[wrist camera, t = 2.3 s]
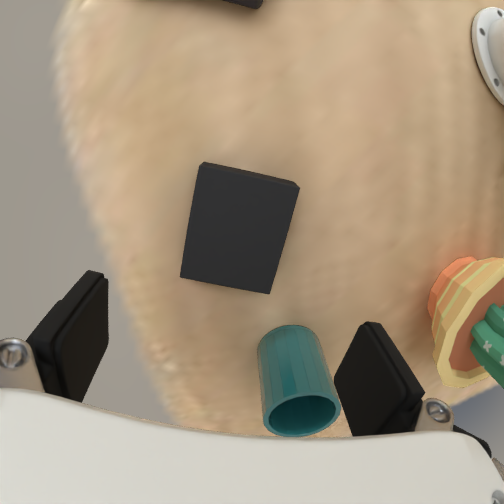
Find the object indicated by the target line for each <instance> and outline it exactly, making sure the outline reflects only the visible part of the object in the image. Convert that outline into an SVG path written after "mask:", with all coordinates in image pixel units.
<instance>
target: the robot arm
mask: <svg viewBox="0 0 504 504" xmlns="http://www.w3.org/2000/svg"><path fill="white" fill-rule="evenodd" d="M472 42H473V48H474V53H475V56H476V60H477V63H478V66H479V68H480V71H481V73H482V75H483V77H484V79H485V82H486V84H487V85H488V87H489V88H490V90H491V92H492V93H493V95H494V96H495V97H496V98H497V100H498V101H499V102H500V103H501V104H502V105H503V106H504V10H502V9H499V8H496V7H488V8H485V9H482V10H481V11H479V12H478V13H477V14H476V16H475V18H474V21H473V24H472ZM108 336H109V334H108V279H106V278H104V274H103V273H99V272H95V271H90V270H88V271H87V272H86V273H85V274H84V275H83V276H82V277H81V278H80V279H79V281H78V282H77V283H76V284H75V285H74V286H73V287H72V289H71V290H70V291H69V292H68V293H67V294H66V295H65V297H64V298H63V299H62V300H59V301H58V302H57V303H56V304H55V305H54V307H53V308H52V309H51V310H50V311H49V312H48V314H47V315H46V316H45V317H44V318H43V320H42V321H41V322H40V323H39V325H38V326H37V327H36V328H35V330H34V331H33V332H32V333H31V335H30V336H29V337H28V338H27V340H26V341H24V340H22V339H18V338H6V339H3V340H0V504H504V465H503V464H502V463H500V462H499V461H498V460H497V459H496V458H493V459H492V460H491V450H490V448H489V446H488V444H487V443H486V442H485V441H484V440H481V439H479V438H478V437H476V436H474V435H472V434H470V433H468V432H466V431H464V430H463V429H461V428H459V427H457V426H455V425H453V424H454V414H453V412H452V410H451V408H450V407H449V406H448V405H447V404H446V403H444V402H443V401H441V400H439V399H436V398H428V399H426V400H424V402H423V401H422V399H421V398H422V397H423V395H424V394H425V391H424V390H423V388H422V386H421V385H420V383H419V382H418V380H417V378H416V377H415V375H414V374H413V372H412V371H411V369H410V367H409V366H408V364H407V363H406V361H405V360H404V358H403V357H402V355H401V354H400V352H399V350H398V349H397V347H396V346H395V344H394V343H393V341H392V340H391V338H390V337H389V335H388V334H387V332H386V331H385V329H384V328H383V327H382V325H381V324H380V323H376V322H368V321H367V322H365V323H364V324H363V325H360V326H359V328H358V330H357V332H356V334H355V336H354V338H353V340H352V342H351V344H350V346H349V348H348V350H347V352H346V354H345V356H344V358H343V360H342V362H341V364H340V366H339V368H338V370H337V372H336V374H335V376H334V385H335V388H336V390H337V393H338V396H339V399H340V402H341V404H342V407H343V410H344V413H345V416H346V418H347V421H348V424H349V427H350V430H351V433H352V436H353V437H322V438H310V437H274V436H258V435H246V434H235V433H226V432H218V431H210V430H202V429H196V428H189V427H183V426H177V425H172V424H166V423H161V422H156V421H151V420H147V419H142V418H138V417H134V416H130V415H125V414H120V413H117V412H113V411H109V410H105V409H102V408H98V407H94V406H91V405H88V404H84V403H82V401H83V399H84V396H85V394H86V392H87V389H88V387H89V385H90V383H91V381H92V379H93V376H94V374H95V372H96V370H97V368H98V366H99V363H100V361H101V359H102V357H103V355H104V353H105V351H106V349H107V345H108V340H109V337H108Z"/></svg>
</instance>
